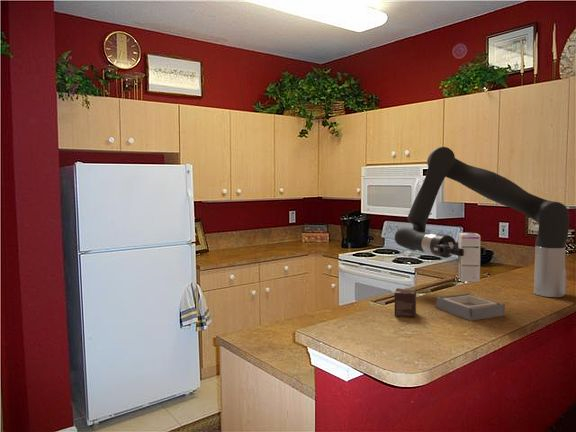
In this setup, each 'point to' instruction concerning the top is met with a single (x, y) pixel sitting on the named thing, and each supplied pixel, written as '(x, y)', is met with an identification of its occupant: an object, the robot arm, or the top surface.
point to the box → (405, 302)
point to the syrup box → (469, 257)
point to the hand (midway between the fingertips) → (473, 252)
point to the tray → (470, 306)
